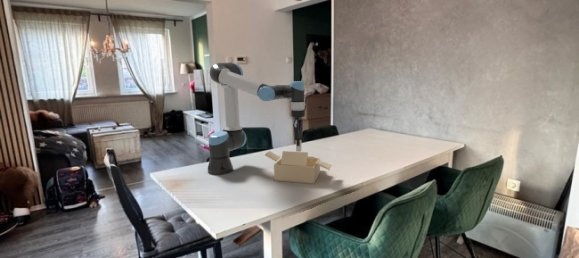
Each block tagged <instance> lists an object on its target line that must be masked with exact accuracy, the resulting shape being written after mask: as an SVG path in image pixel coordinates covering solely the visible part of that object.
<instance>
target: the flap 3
mask: <svg viewBox="0 0 579 258" xmlns="http://www.w3.org/2000/svg"><path fill="white" fill-rule="evenodd" d="M316 165H318V166H320V168H323V169H326V170H328V171H330V170H331V168H332V166H333V165H332V164H331V163H328V162H326V161H324V160H321V159H320V160H319V161H318V163H317V164H316Z"/></svg>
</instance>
